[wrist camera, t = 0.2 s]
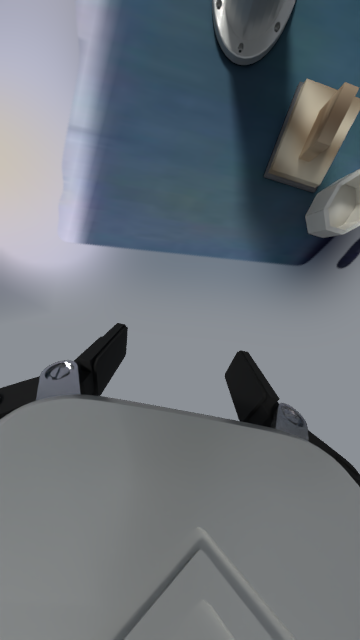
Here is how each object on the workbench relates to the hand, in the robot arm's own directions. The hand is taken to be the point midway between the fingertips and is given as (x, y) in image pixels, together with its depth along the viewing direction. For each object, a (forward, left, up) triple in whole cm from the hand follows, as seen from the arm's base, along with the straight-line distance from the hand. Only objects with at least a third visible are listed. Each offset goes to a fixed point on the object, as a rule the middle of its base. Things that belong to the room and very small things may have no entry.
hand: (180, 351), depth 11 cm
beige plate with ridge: (-33, +17, -30) cm, 48 cm away
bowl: (-25, +29, -31) cm, 49 cm away
